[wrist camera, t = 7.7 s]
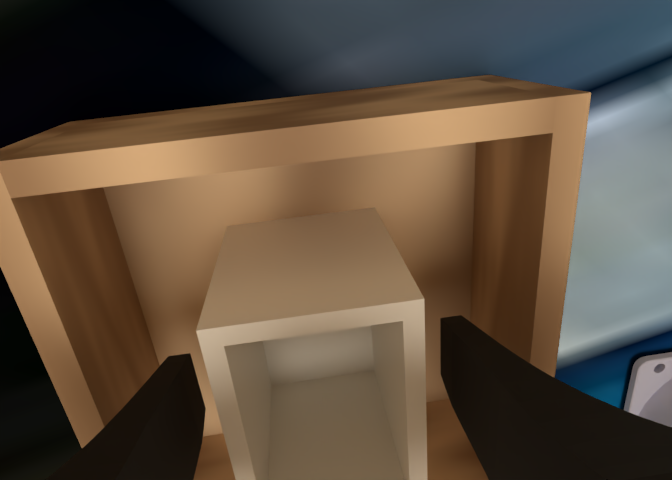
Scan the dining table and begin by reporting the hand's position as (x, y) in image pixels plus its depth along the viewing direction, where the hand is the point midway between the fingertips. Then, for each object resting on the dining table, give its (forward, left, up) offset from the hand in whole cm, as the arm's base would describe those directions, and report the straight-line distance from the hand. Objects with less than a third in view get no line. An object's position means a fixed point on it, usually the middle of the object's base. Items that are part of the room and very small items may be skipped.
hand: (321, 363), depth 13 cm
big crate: (0, 0, -5) cm, 5 cm away
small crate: (0, 0, -4) cm, 4 cm away
